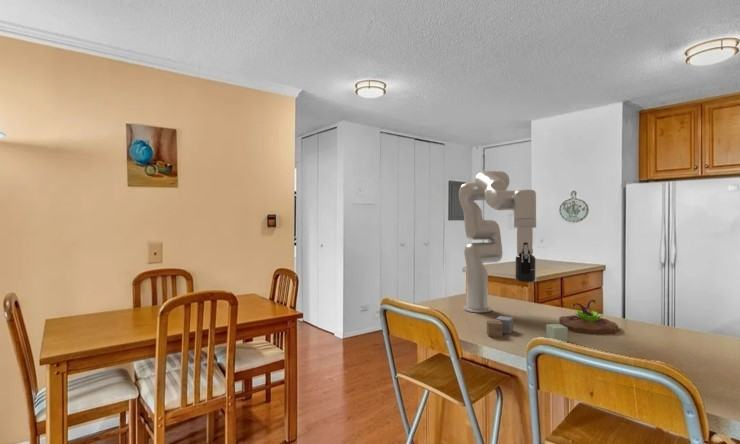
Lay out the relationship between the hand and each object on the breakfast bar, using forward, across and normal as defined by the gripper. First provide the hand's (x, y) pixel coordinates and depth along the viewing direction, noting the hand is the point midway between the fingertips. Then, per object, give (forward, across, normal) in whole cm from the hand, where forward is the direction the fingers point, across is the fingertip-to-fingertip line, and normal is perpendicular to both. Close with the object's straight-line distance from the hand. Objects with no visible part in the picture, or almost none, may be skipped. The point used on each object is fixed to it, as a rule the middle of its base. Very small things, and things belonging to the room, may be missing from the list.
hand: (525, 271), depth 143 cm
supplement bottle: (+4, 0, 0) cm, 4 cm away
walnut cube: (+24, +2, -11) cm, 26 cm away
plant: (+24, -19, +24) cm, 39 cm away
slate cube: (+24, -4, -7) cm, 25 cm away
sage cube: (+24, +2, +10) cm, 26 cm away
